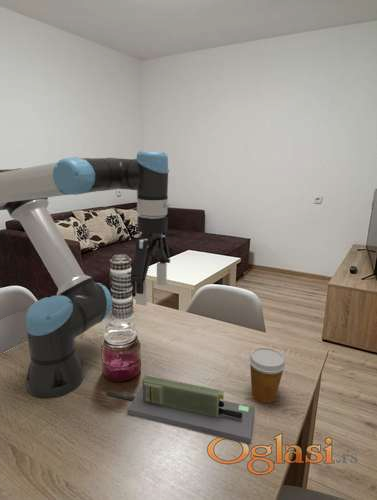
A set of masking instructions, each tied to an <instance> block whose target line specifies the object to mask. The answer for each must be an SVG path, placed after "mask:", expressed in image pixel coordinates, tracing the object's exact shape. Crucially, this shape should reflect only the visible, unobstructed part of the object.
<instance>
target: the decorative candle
mask: <svg viewBox="0 0 377 500" xmlns="http://www.w3.org/2000/svg"><path fill="white" fill-rule="evenodd" d="M131 261H132V258H131V257H129V255H127V254H122V253H121V254H115V255H113V256H112V258H110V260H109V262H110V270H109V272H108V275H109V276H108V277H109V278H108V279H109V280H110V281H109V285H110V286H109V288H110V291H111V297H112V307H111V317H112V319H113V320H115V321H117V320H125V321H129V320H131V319H132V318H133V317H134V302H133V301H134V299H133V293H132V290H133V286H134V284H133V283H132V282H133V281H132V280H131V274H132V265H131V264H132V263H131Z"/></svg>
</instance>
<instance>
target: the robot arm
mask: <svg viewBox="0 0 377 500" xmlns="http://www.w3.org/2000/svg"><path fill="white" fill-rule="evenodd" d="M169 172H170V170H169V156H168V154H167V153H166V152H164V151H153V150H152V151H151V150H150V151H147V150H145V151H144V150H143V151H142V150H139V151H137V154H136V158H133V159H131V158H116V157H102V158H100V157H99V158H97V157H96V158H91V157H89V158H87V157H86V158H85V157H84V158H83V157H78V156H77V157H76V156H75V157H68V158H67V157H65V158H62V159H59V160H58V161H56V162H52V163H51V162H50V163H46V164H40V165H36V166H30V167H25V168H22V167H21V168H19V167H18V168H15V169H12V168H11V169H9V168H8V169H0V211H5V210H6V211H7V213H8V214H9V216H10V217H11V219H12V220H14V221H15V220H16V221H19V222H20V224H21V226H22V227H23V229H24V232H25V233H26V235H27V237H28V238H29V240H30V241H31V243H32V246H33V247H34V249H35V250H36V252H37V253H38V255H39V257H40V259H41V260H42V262H43V264H44V266H45V268H46V270H47V271H48V273H49V274H50V276H51V278H52V280H53V282H54V284H55V285H56V287H57V292H56V295H51V296H50V297H47V296H46V297H43V298H40V299H39V300H37V301H35V302H34V303H32V304H31V305H30V306H29V307H28V308H27V310H26V314H25V330H26V333H27V341H28V350H29V357H30V362H29V366H28V370H27V375H26V380H25V382H26V383H25V384H26V389H27V391H28V392H29V394H31V395H32V396H34V397H37V398H41V399H42V398H44V399H46V398H57V397H59V396H63V395H65V394H68V393H70V392H71V391H74V390H75V389H76V388H77V387H79V385H81V383H82V382H83V381H84V378H85V366H84V365H83V362H82V361H81V359H80V357H79V354H78V352H77V349H76V338H77V337H79V336H80V335H82V334H83V333H85V332H86V331H88V330H89V329H92V327H94V326H96V325H98V324H99V323H102V322H103V320H104V319H106V318H108V316H109V315H110V314H111V313H112V310H111V309H112V293H111V292H110V290H109V289H108V287H107V286H105V285H104V284H103V283H101V282H95V281H94V278H93V277H92V276H91V275H90V276H89V275H87V274H85V273H84V272H83V270H82V268H81V267H80V264H79V263H78V261H77V259H76V258H75V256H74V254H73V252H72V250H71V249H70V246H69V245H68V244H67V242H66V240H65V239H64V237H63V235H62V233H61V231H60V229H59V228H58V226H57V224H56V223H55V221H54V219H53V217H52V215H51V214H50V212H49V210H48V207H49V203H50V202H49V200H48V199H49V198H54V197H62V196H68V195H70V196H71V195H74V196H76V195H83V194H89V193H95V192H104V191H111V190H131V191H136V196H137V198H136V214H137V215H138V216H137V231H138V232H140V233H142V234H143V235H142V239H136V245H135V246H136V247H135V248H136V249H135V254H134V259H133V264H132V267H131V270H132V274H131V280H132V282H135V305H139V306H147V305H148V280H147V279H146V278H147V274H148V271H149V268H150V264H151V261H152V258H153V257H156V259H157V261H158V262H156V285H157V286H164V287H166V286H167V278H168V277H167V275H168V274H167V273H168V272H167V265H168V264H170V263H171V259H170V258H171V255H170V250H169V249H170V248H169V244H168V237H167V231H168V217H167V215H168V208H169V207H170V204H169V203H168V201H169V200H168V199H169V198H168V193H169V192H168V188H169V184H168V183H169Z"/></svg>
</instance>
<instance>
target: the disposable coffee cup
mask: <svg viewBox="0 0 377 500" xmlns="http://www.w3.org/2000/svg"><path fill="white" fill-rule="evenodd" d="M248 362H249V365H250V380H251V381H250V385H251V395H252V397H253V398H254V399H255V400H256V401H257V402H258V403H262V404H271V403H273V402H274V401H275V400H276V398H277V395H278V392H279V391H278V390H279V387H280V383H281V379H282V375H283V372H284V370H285V369H286V365H287V363H286V360H285V357H284V355H283V354H282V353H281V352H280V351H279V350H278V349H274V348H271V347H265V346H264V347H262V346H261V347H257V348H254V349H253V350H252V351H251V353H250V354H249V356H248Z"/></svg>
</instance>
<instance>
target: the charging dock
mask: <svg viewBox="0 0 377 500" xmlns="http://www.w3.org/2000/svg"><path fill="white" fill-rule="evenodd" d="M106 395H108V396H113V397H115V398H121V399H125V400H130V401H131V403H130V404H129V406H128V408H127V409H126V411H127V413H126V414H127V415H129V416H133V417H136V418H141V419H145V420H149V421H154V422H158V423H163V424H166V425H170V426H174V427H178V428H183V429H186V430H190V431H195V432H200V433H203V434H208V435H211V436H216V437H219V438H223V439H228V440H233V441H236V442H240V443H244V444H251V438H252V429H253V424H254V423H253V422H254V414H255V406H251V405H247V404H241V403H237V402H232V401H228V400H224V399H223V400H221V399H220V401H222V402H224V406H223V407H219V408H222V409H225V410H226V409H227V410H232V411H236V412H241V413H242V418H237V417H232V416H228V415H225V414H223V416H222V417H213V416H208V415H204V414H199V413H195V412H190V411H185V410H181V409H176V408H172V407H167V406H163V405H158V404H154V403H149V402H145V401H143V384H142V385H141V387H140V389H138V391H137V393H136V395H135V396H133V395H129V394H125V393H121V392H116V391H112V390H107V391H106Z"/></svg>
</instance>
